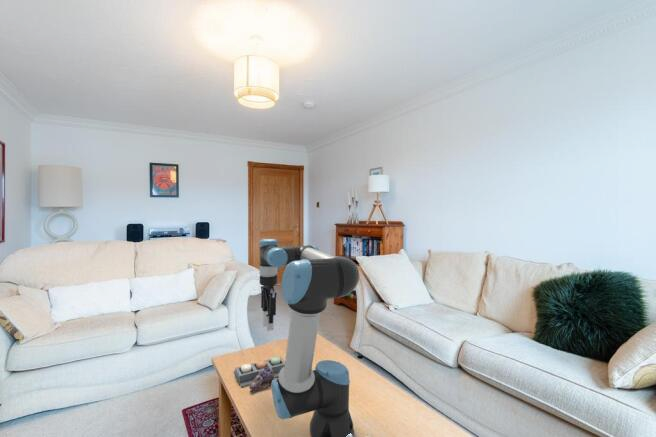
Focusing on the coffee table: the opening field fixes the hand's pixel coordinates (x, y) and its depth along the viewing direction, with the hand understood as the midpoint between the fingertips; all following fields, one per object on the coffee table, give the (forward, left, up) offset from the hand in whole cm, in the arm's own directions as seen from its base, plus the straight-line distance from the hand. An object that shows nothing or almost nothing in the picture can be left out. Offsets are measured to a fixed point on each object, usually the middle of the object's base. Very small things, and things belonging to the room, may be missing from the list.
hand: (268, 327), depth 133 cm
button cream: (+9, +7, -22) cm, 25 cm away
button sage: (+9, -7, -22) cm, 25 cm away
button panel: (+9, 0, -25) cm, 26 cm away
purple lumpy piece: (0, +3, -25) cm, 25 cm away
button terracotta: (+9, 0, -22) cm, 24 cm away
